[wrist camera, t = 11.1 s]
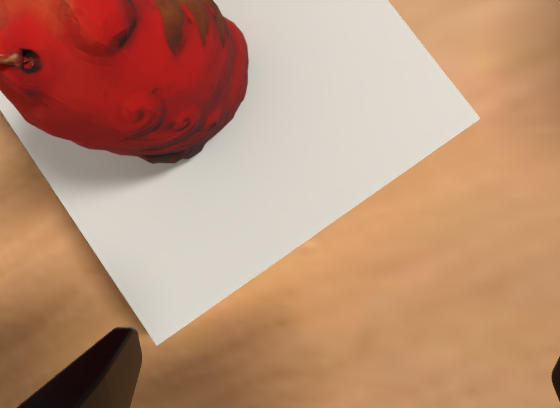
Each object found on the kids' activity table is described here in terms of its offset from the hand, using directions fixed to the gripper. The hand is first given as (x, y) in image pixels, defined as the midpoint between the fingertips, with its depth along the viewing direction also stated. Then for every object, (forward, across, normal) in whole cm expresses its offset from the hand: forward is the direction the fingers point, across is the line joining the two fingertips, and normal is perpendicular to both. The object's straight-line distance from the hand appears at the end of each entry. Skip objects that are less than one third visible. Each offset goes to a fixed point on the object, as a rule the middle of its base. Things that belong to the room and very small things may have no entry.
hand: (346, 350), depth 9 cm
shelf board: (+15, +6, -2) cm, 16 cm away
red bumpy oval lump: (+13, +6, -3) cm, 14 cm away
